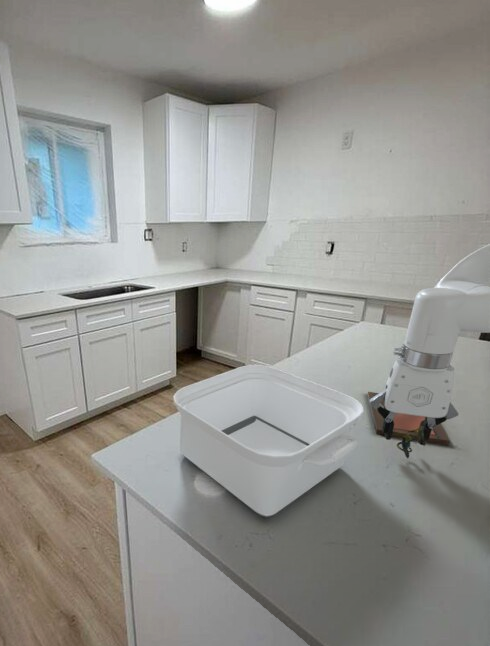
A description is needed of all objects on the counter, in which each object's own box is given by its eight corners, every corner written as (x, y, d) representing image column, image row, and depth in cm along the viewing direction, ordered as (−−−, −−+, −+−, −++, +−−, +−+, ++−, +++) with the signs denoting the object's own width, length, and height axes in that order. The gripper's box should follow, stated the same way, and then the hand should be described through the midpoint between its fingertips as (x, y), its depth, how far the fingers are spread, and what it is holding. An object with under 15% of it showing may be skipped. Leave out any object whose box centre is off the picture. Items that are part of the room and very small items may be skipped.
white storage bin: (156, 449, 81) (153, 390, 75) (244, 409, 96) (248, 357, 90) (282, 554, 55) (293, 477, 49) (376, 477, 70) (393, 411, 64)
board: (426, 403, 96) (427, 398, 95) (448, 445, 79) (450, 440, 78) (367, 395, 101) (367, 391, 100) (376, 433, 84) (377, 428, 83)
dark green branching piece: (420, 463, 70) (430, 435, 67) (384, 452, 73) (392, 425, 70) (421, 442, 76) (431, 416, 73) (388, 433, 79) (395, 407, 76)
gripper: (375, 359, 67) (358, 441, 74) (491, 369, 61) (459, 457, 68) (371, 345, 73) (355, 422, 80) (475, 354, 67) (448, 436, 74)
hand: (403, 437), depth 74 cm, fingers closed on dark green branching piece, 5 cm apart
